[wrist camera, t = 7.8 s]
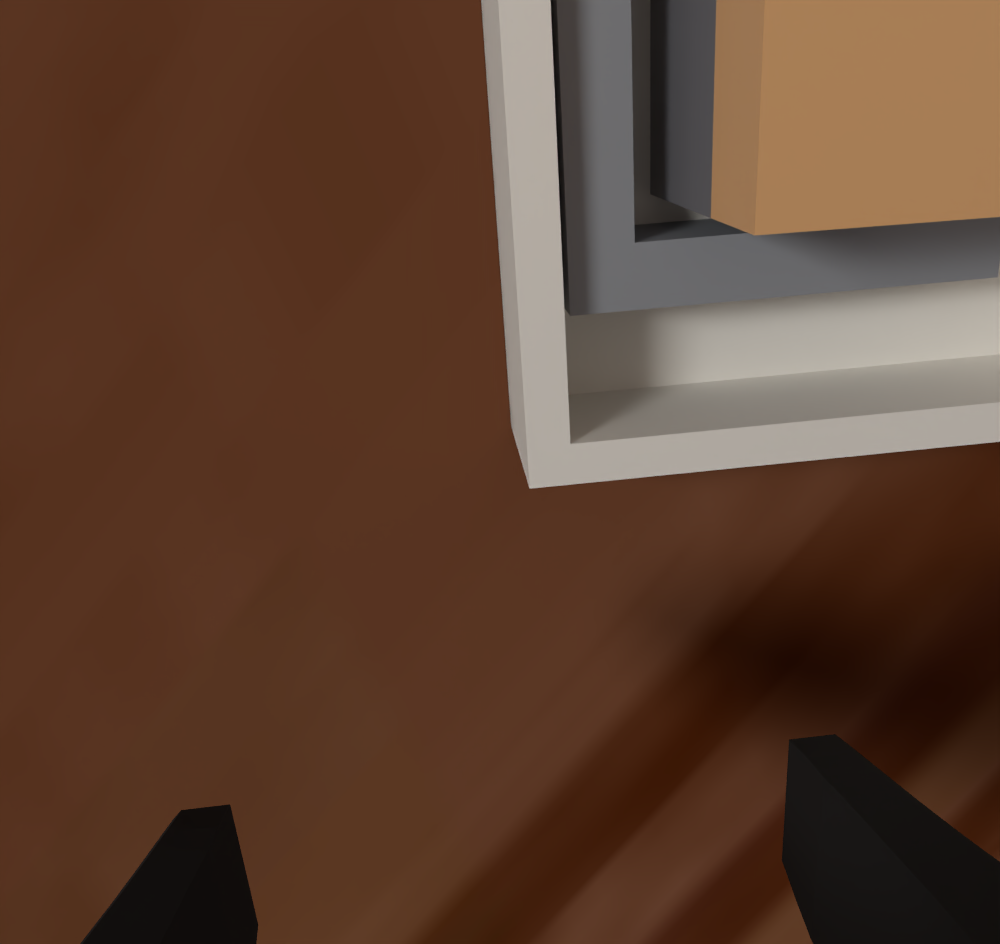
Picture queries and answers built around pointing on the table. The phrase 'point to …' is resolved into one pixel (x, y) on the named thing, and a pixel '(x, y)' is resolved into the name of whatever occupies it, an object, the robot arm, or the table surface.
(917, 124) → the block
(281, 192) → the table surface
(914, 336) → the walled box
